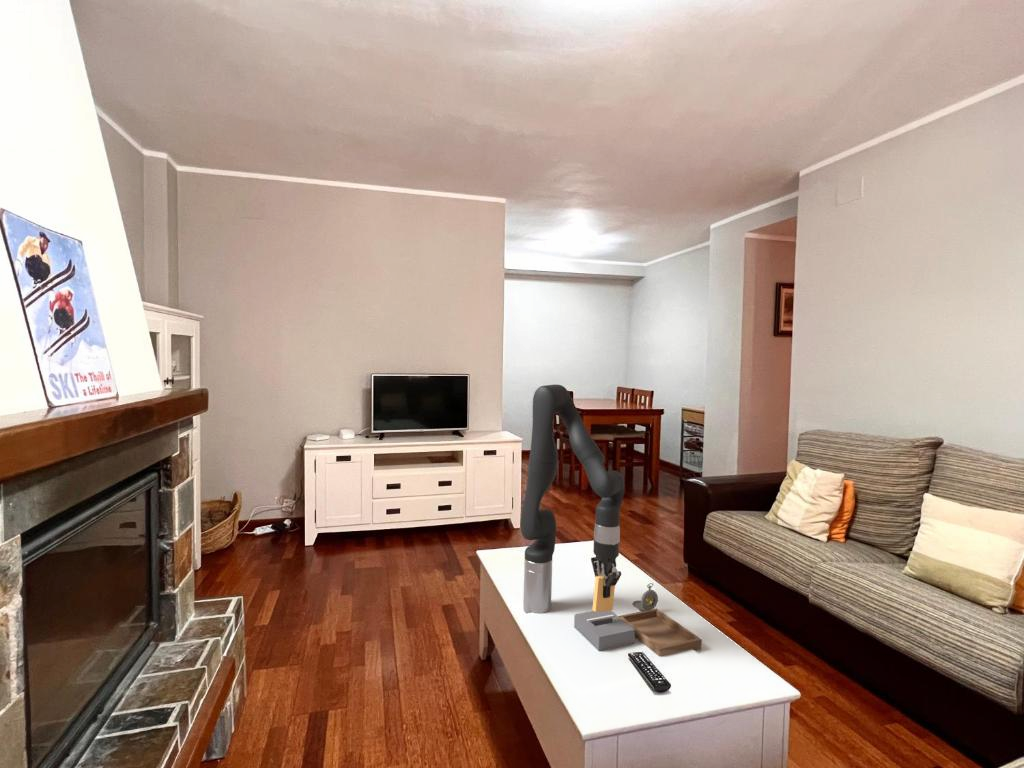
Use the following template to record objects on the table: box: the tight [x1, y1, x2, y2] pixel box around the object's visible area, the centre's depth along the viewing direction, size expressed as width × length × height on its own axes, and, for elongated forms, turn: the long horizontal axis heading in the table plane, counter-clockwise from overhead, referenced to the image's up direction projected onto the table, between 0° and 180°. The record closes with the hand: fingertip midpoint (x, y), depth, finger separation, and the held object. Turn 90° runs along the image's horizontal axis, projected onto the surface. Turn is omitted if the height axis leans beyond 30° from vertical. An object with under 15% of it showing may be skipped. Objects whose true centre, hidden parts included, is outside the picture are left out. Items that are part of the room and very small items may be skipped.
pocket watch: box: [631, 583, 659, 612], centre depth 170 cm, size 8×8×10 cm
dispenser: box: [573, 610, 636, 652], centre depth 151 cm, size 14×12×5 cm
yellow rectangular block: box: [591, 576, 616, 612], centre depth 151 cm, size 2×6×10 cm, turn 113°
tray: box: [617, 608, 703, 657], centre depth 153 cm, size 20×15×3 cm
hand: (604, 595), depth 151 cm, fingers closed on yellow rectangular block, 1 cm apart
